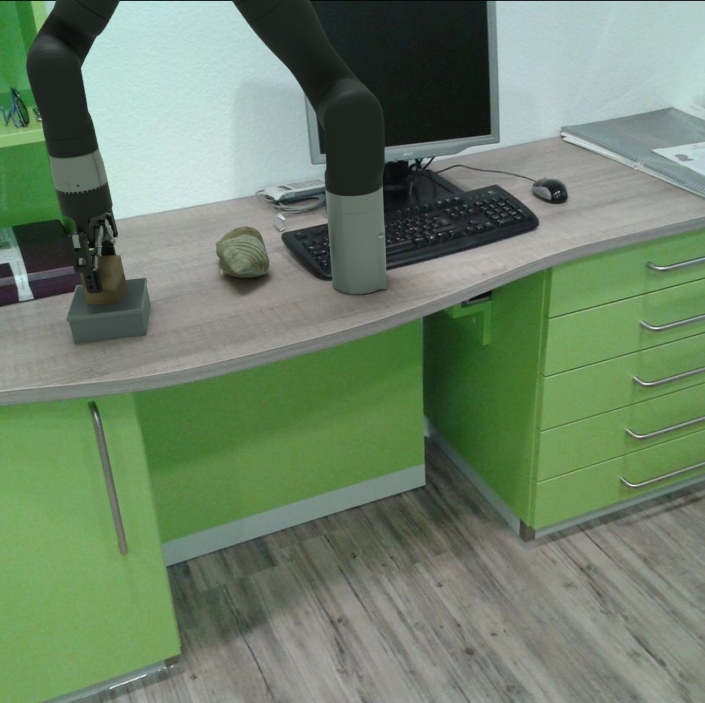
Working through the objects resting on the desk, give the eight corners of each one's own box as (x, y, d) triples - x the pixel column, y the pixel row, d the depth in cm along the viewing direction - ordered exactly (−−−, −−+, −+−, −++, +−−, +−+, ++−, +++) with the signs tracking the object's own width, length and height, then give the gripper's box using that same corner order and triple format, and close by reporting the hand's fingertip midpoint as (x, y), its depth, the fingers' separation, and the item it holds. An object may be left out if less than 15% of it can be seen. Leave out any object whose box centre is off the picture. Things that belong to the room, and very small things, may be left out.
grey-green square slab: (152, 304, 140) (146, 277, 137) (147, 337, 130) (141, 309, 127) (83, 312, 139) (76, 285, 136) (73, 346, 129) (66, 317, 126)
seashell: (198, 235, 150) (230, 201, 144) (241, 251, 155) (272, 219, 150) (206, 297, 142) (239, 263, 136) (250, 311, 148) (284, 280, 142)
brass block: (127, 289, 134) (120, 255, 131) (118, 303, 129) (110, 268, 126) (97, 289, 134) (89, 256, 131) (87, 304, 130) (78, 269, 127)
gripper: (90, 197, 116) (114, 300, 124) (119, 164, 128) (139, 260, 136) (38, 199, 116) (65, 302, 124) (71, 166, 128) (94, 261, 137)
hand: (103, 280), depth 130 cm, fingers open, 8 cm apart
